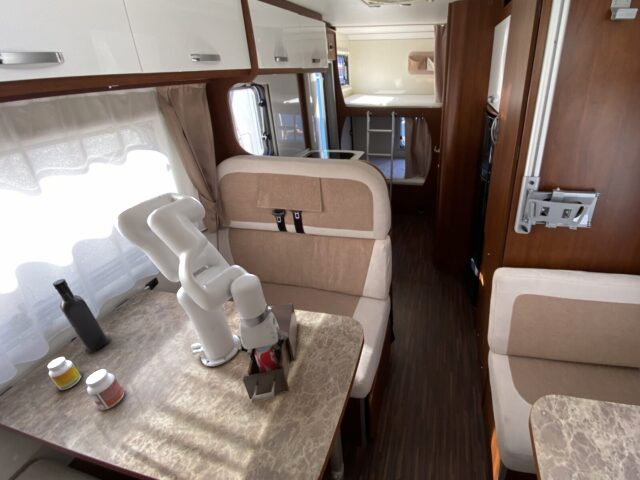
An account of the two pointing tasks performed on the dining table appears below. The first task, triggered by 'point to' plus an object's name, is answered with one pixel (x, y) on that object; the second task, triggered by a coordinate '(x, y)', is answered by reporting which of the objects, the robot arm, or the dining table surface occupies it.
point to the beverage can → (266, 358)
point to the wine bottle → (80, 317)
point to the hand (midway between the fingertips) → (267, 357)
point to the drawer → (268, 378)
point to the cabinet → (287, 324)
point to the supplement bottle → (63, 373)
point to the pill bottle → (104, 389)
